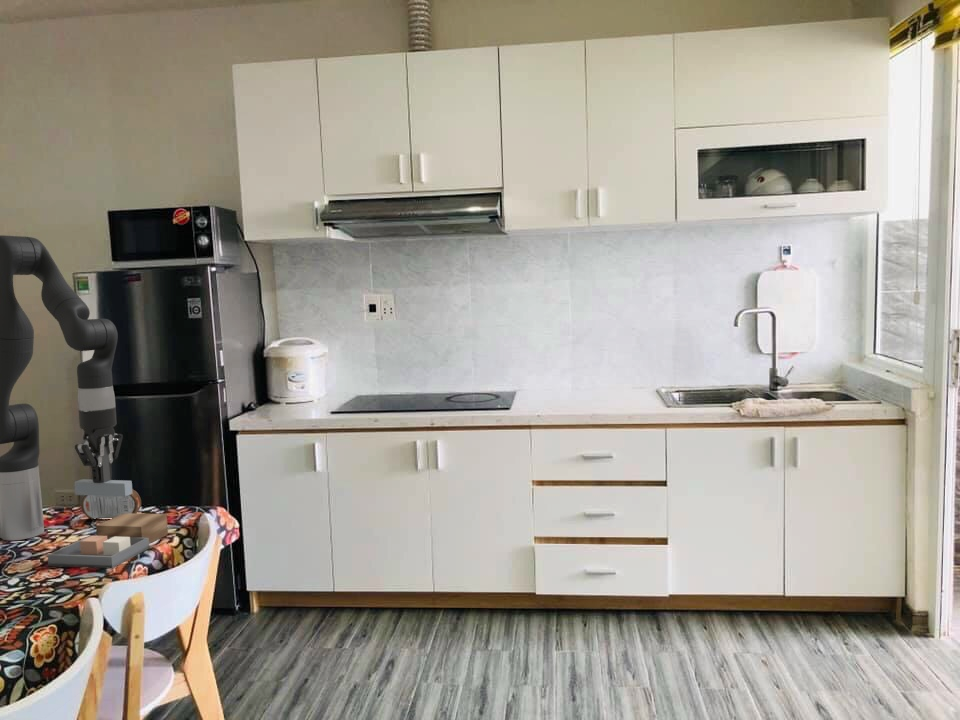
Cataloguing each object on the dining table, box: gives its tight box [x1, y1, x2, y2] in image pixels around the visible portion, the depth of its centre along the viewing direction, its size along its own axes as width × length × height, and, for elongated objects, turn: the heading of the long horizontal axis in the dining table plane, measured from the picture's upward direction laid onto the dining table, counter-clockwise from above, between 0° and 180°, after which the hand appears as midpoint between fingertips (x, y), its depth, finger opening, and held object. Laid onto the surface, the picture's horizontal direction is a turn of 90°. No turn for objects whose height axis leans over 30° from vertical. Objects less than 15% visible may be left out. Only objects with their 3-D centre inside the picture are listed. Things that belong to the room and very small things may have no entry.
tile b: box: [103, 536, 131, 555], centre depth 171 cm, size 4×4×3 cm
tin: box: [81, 488, 142, 520], centre depth 200 cm, size 15×3×8 cm, turn 92°
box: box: [47, 535, 150, 569], centre depth 170 cm, size 16×13×2 cm
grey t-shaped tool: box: [74, 447, 133, 496], centre depth 171 cm, size 13×2×11 cm, turn 79°
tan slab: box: [95, 513, 169, 545], centre depth 181 cm, size 12×10×5 cm
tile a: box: [80, 535, 108, 554], centre depth 172 cm, size 4×4×3 cm
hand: (102, 480), depth 171 cm, fingers closed on grey t-shaped tool, 2 cm apart
